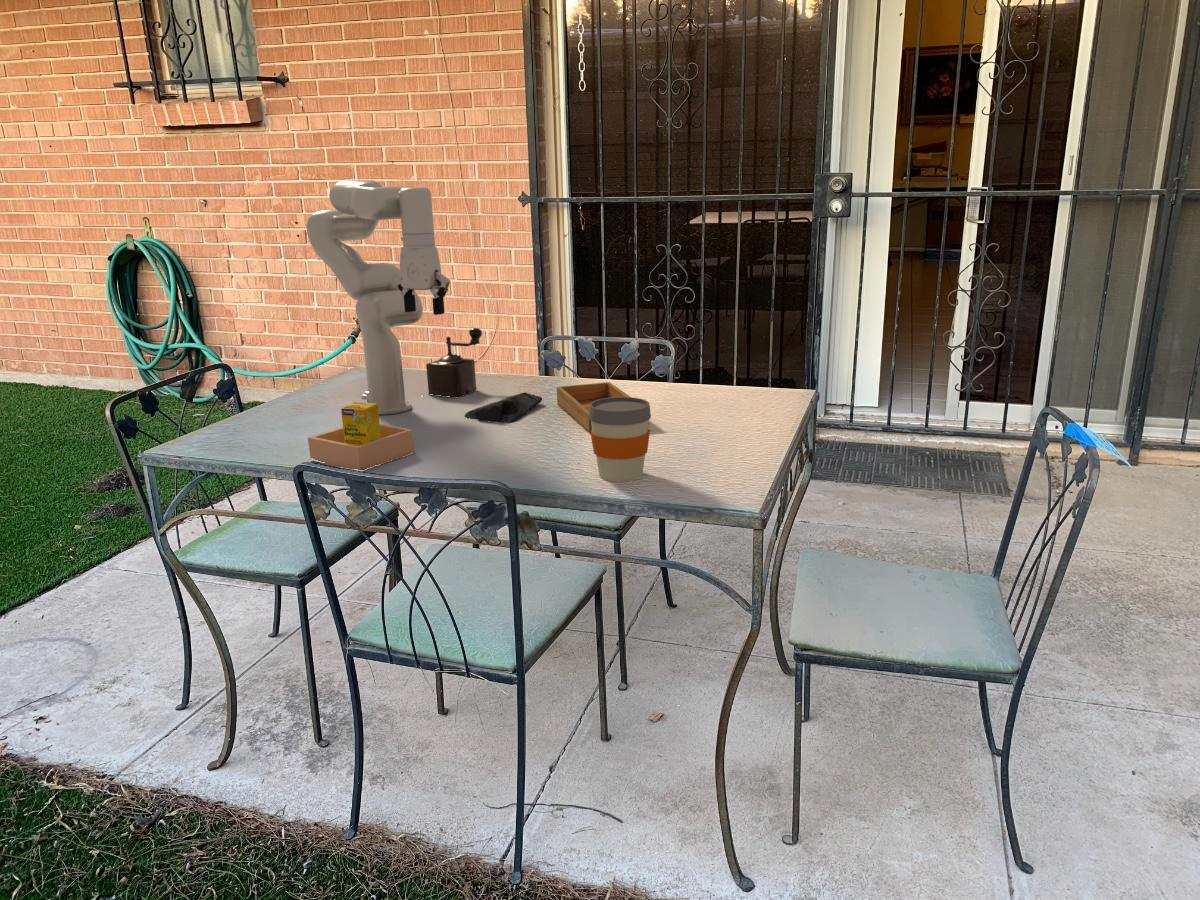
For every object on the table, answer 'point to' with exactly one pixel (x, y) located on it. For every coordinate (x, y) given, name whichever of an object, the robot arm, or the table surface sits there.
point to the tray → (585, 399)
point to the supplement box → (360, 423)
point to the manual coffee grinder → (453, 371)
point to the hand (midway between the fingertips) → (424, 312)
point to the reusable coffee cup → (620, 436)
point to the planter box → (361, 448)
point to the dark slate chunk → (505, 408)
